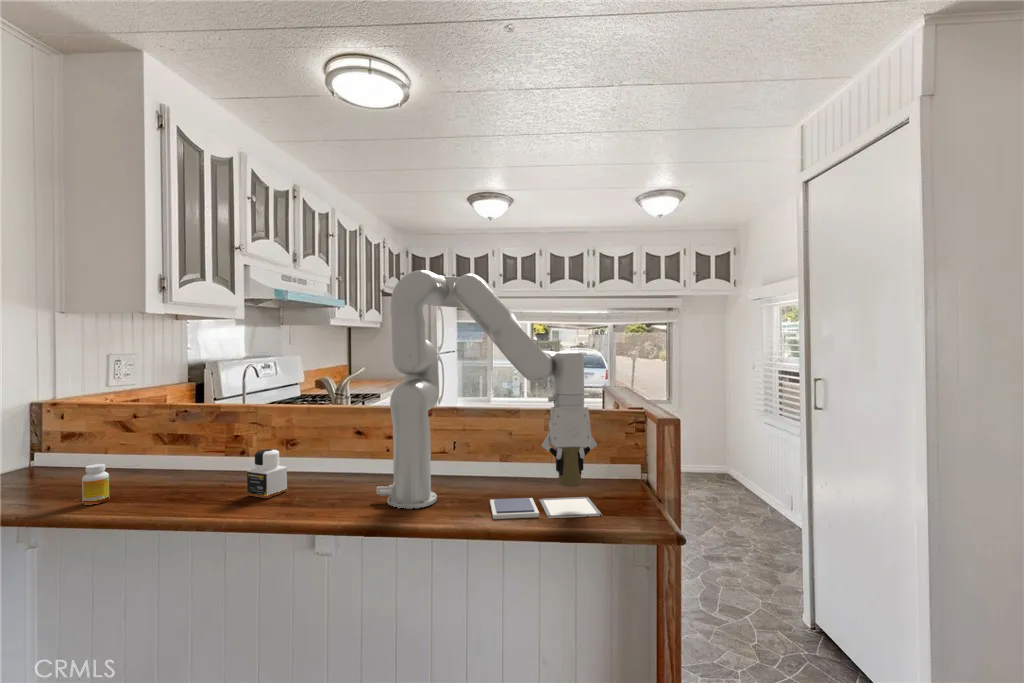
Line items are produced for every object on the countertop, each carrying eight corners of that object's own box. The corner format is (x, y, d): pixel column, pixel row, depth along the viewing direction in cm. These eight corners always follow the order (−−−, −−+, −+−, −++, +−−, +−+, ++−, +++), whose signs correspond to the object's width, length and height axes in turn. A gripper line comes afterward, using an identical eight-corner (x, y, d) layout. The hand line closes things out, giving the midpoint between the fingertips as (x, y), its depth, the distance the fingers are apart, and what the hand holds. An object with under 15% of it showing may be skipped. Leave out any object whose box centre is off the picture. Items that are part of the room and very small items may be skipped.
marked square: (548, 518, 120) (548, 516, 120) (539, 500, 133) (539, 498, 133) (601, 515, 121) (601, 514, 121) (587, 498, 134) (587, 496, 134)
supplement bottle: (111, 502, 132) (110, 465, 132) (84, 507, 128) (83, 469, 128) (107, 497, 136) (106, 461, 136) (81, 502, 132) (80, 465, 132)
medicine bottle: (246, 496, 137) (246, 452, 137) (268, 489, 143) (267, 446, 143) (266, 499, 134) (265, 454, 134) (287, 491, 141) (287, 448, 141)
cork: (581, 487, 123) (580, 442, 123) (556, 486, 124) (556, 441, 124) (582, 480, 129) (582, 437, 129) (559, 479, 130) (558, 436, 130)
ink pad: (493, 519, 119) (493, 513, 119) (490, 503, 130) (490, 498, 130) (539, 517, 121) (539, 511, 121) (532, 501, 131) (532, 496, 131)
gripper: (538, 403, 122) (539, 479, 122) (606, 401, 124) (606, 476, 124) (533, 399, 129) (534, 471, 130) (597, 397, 131) (598, 468, 131)
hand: (569, 472), depth 127 cm, fingers closed on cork, 4 cm apart
